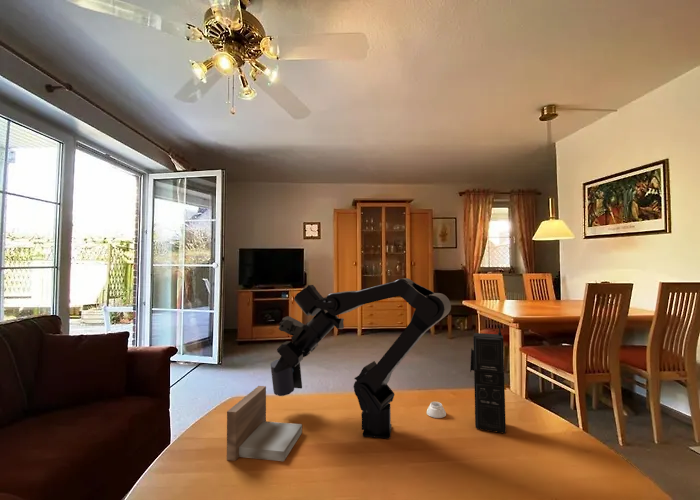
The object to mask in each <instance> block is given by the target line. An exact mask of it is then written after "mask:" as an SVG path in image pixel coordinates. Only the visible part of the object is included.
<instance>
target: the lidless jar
mask: <svg viewBox="0 0 700 500" xmlns="http://www.w3.org/2000/svg"><path fill="white" fill-rule="evenodd" d="M426 415H428V416H429V417H431V418H434V419H441V418H444V417H445V418H446V416H447V412H446V410H445V408H444V406H443V403H441V402H439V401H431V402H430V404H429V406H428V407H427V410H426Z"/></svg>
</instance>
